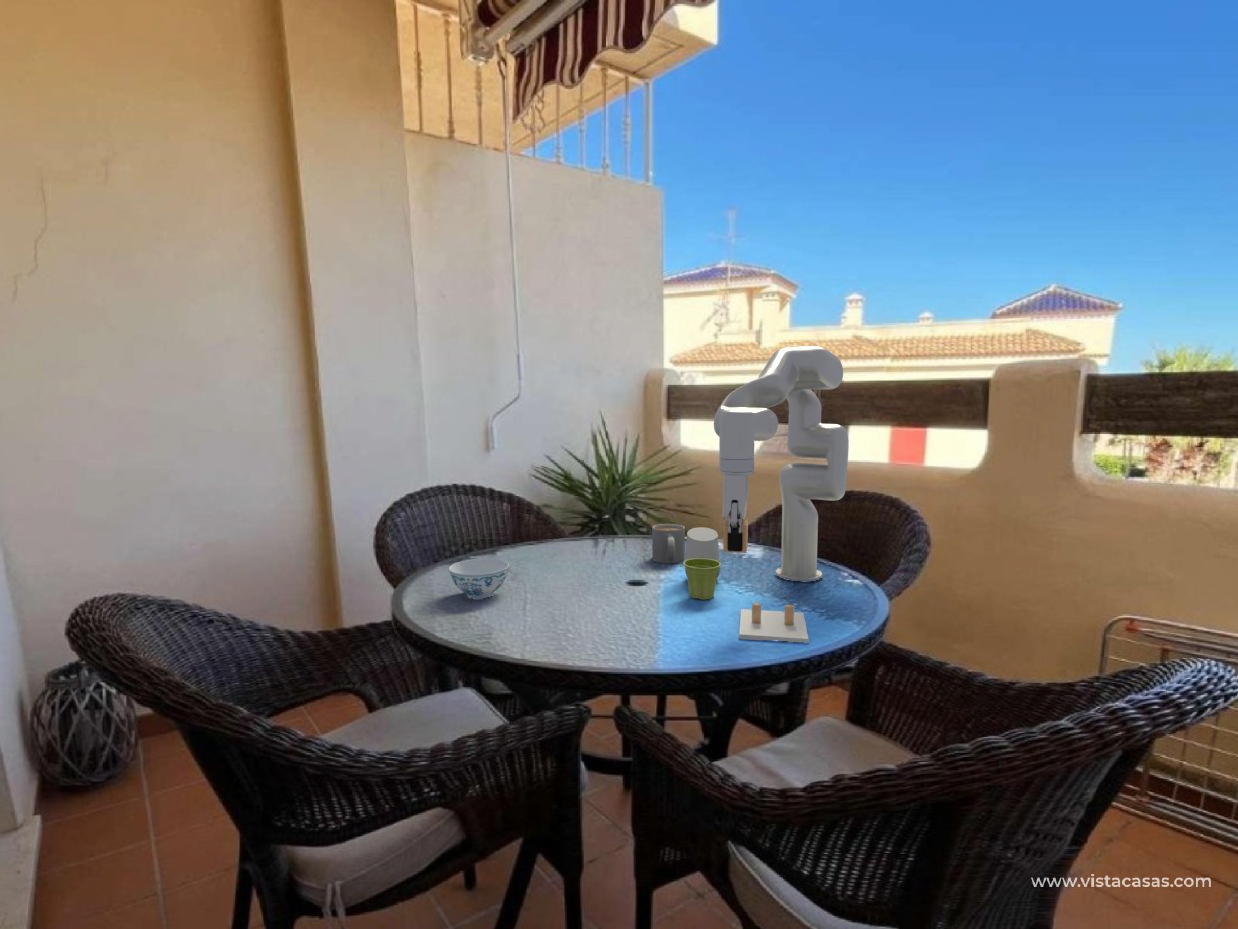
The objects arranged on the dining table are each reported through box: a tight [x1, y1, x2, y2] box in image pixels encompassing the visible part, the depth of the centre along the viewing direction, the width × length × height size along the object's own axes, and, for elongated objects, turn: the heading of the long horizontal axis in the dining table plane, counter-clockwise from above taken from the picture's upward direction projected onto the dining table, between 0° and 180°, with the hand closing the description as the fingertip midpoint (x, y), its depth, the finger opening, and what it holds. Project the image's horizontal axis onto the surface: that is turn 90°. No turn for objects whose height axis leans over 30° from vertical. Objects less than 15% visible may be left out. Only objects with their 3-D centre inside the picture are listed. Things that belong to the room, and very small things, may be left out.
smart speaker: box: [684, 526, 721, 580], centre depth 179 cm, size 10×9×14 cm
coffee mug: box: [651, 523, 686, 564], centre depth 200 cm, size 13×10×10 cm
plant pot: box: [682, 558, 722, 601], centre depth 165 cm, size 9×9×9 cm
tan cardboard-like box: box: [722, 519, 749, 554], centre depth 145 cm, size 5×5×6 cm
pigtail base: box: [738, 602, 809, 643], centre depth 143 cm, size 16×14×5 cm
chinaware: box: [448, 558, 510, 600], centre depth 168 cm, size 15×15×8 cm
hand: (735, 546), depth 145 cm, fingers closed on tan cardboard-like box, 4 cm apart
